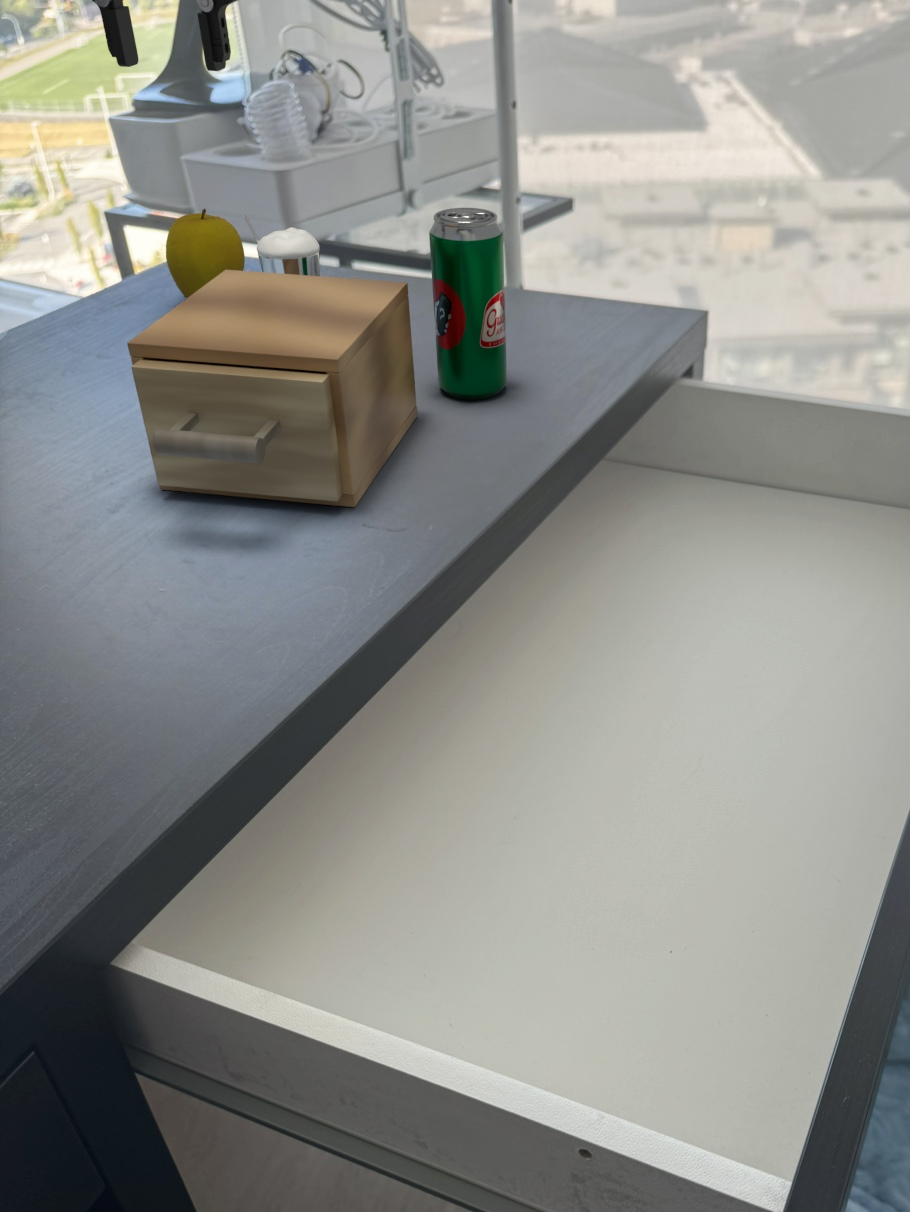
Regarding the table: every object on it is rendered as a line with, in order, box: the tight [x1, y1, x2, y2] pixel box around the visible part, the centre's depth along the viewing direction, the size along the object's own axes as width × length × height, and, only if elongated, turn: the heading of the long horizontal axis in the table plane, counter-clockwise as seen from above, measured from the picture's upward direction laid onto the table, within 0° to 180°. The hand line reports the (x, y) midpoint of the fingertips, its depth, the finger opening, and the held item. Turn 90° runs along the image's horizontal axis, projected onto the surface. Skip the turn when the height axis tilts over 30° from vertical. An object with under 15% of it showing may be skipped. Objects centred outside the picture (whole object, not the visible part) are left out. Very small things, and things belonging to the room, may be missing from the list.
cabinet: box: [126, 270, 418, 508], centre depth 75 cm, size 15×13×9 cm
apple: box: [165, 208, 246, 300], centre depth 98 cm, size 6×6×8 cm
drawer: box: [130, 359, 343, 501], centre depth 72 cm, size 18×11×7 cm, turn 171°
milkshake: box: [243, 214, 321, 276], centre depth 88 cm, size 4×5×10 cm
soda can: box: [428, 207, 508, 401], centre depth 83 cm, size 5×5×12 cm
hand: (172, 66), depth 89 cm, fingers open, 6 cm apart
